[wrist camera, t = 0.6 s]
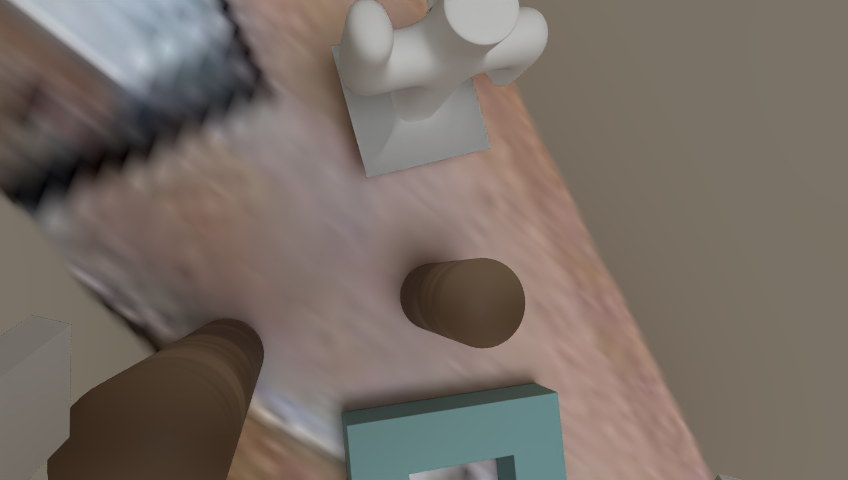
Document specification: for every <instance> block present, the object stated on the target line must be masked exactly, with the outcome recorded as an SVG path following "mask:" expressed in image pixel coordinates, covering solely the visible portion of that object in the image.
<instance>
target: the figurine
mask: <svg viewBox="0 0 848 480" xmlns="http://www.w3.org/2000/svg"><path fill="white" fill-rule="evenodd" d="M427 4H428V7H429V9H428V10H427V15H426V16H425V17H424V18H423V19H421V20H420V21H418V22H417V23H415V24H413V25H411V26H408V27H404V28H400V29H394V30H393V29H392V24H391V21H390V19H389V17H388V14H387V13H386V11H385V10H384V8H383V7H382V6H381V5H380V4H379V3H378V2H376V1H374V0H358V1H356V2H355V3H354V4H353V5H352V6H351V7H350V9H349V11H348V13H347V16H346V21H345V25H344V30H343V34H342V39H341V43H340V45H334V46H331V50H332V53H333V57H334V60H335V64H336V67H337V71H338V75H339V78H340V82H341V85H342V89H343V93H344V96H345V100H346V103H347V107H348V111H349V114H350V118H351V121H352V125H353V129H354V132H355V136H356V139H357V143H358V147H359V150H360V154H361V157H362V161H363V165H364V168H365V172H366V175H367V178H370V177H374V176H378V175H382V174H386V173H390V172H394V171H399V170H403V169H407V168H411V167H415V166H419V165H423V164H427V163H431V162H436V161H440V160H444V159H448V158H452V157H456V156H460V155H464V154H469V153H473V152H477V151H481V150H485V149H489V148H491V145H490V141H489V138H488V134H487V131H486V127H485V123H484V120H483V116H482V113H481V109H480V106H479V102H478V98H477V95H476V91H475V88H474V84H473V80H472V77H473V76H474V75H476V74H479V73H484V72H486V74H487V76H488V78H489V80H490V81H491V82H492V83H494V84H495V85H497V86H506V85H508V84H510V83H511V82H513V81H514V80H515V79H516V78H517V77H518V76H519V75H521V74H522V73H523V72H524V71H525V70H526V69H527V68H529V67H530V66H531V65H532V64H533V63H534V62H535V61H536V60H537V59H538V57H539V56H540V55H541V53H542V52H543V50H544V48H545V46H546V43H547V38H548V28H547V24H546V21H545V19H544V17H543V15H542V14H541V13H540V12H539V11H537V10H536V9H534V8H530V7H519V2H518V0H427Z"/></svg>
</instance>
